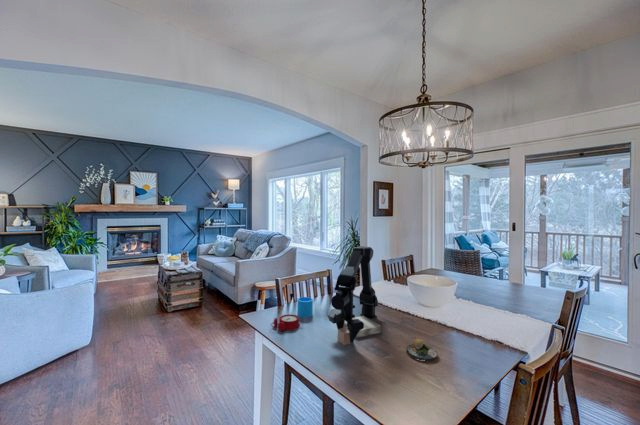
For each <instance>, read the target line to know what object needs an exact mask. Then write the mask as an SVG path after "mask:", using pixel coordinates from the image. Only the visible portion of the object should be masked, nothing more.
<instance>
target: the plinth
mask: <svg viewBox="0 0 640 425" xmlns="http://www.w3.org/2000/svg"><path fill="white" fill-rule="evenodd" d="M352 319H353V320H354V319H359V320H360V321H362V322H363V323H364V329H362V330H360V331H359V332H358V334H357V336H356V338H355V339H357V338H362V337H366V336H367V337H368V336H371V335H375V334H379V333H382V325H380V324H378V323H376V321H373V320H371V318H369V319H368V318H366V317H365V316H361V315H360V316H355V318H352ZM346 327H347V322H346V321H345V322H344V326H343V328H346Z"/></svg>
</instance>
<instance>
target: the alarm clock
mask: <svg viewBox="0 0 640 425" xmlns="http://www.w3.org/2000/svg"><path fill="white" fill-rule="evenodd" d="M301 321H302V319H299V316H298V315H296V314H284V315H281V316H280V317H279V322H278V317H274V320H273V322H272V323H271V324H270V327H272V328H276V329H277V328H278V330H279V331H281V332H285V331H294V330H296V329H299V328H300V326H301V325H300V322H301Z"/></svg>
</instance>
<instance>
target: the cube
mask: <svg viewBox="0 0 640 425" xmlns="http://www.w3.org/2000/svg"><path fill="white" fill-rule="evenodd" d="M347 328H348V327H346V328H341V329H337V341H338V342H339V343H340V344H341V345H343V346H347V345H349V344H350V345H351V344H353V343H354V342H355V340H354V341H353V343H350V335H349V330H348V329H347Z"/></svg>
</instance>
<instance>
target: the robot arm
mask: <svg viewBox="0 0 640 425" xmlns="http://www.w3.org/2000/svg"><path fill="white" fill-rule="evenodd" d="M373 256H374V249H373V248H372V247H371V246H355V247H353V249H352V253H351V257H350V258H349V261H348V263H347V264H346V267H344V269H342V270H341V271H340V273H339V275H338V276H337V279H336V283H335V287H334V291H336V292H335V295H333V296H332V298H331V300H330V304H331V306H332V307H333V308H332V309H331V310H330V311H329V312H326V313H327V314H326V315H327V319H328V321H329V322H330V323H332V324H333V325H334V324H335V325H336V327H337V330H338V329H341V328H343V326H344V322H345V321H346V322H347V327H348V328H347V329H348V330H349V335H350V343H351V344H353V341H354V342H355V339H357V338H356V336H357V334H358V332H359V331H360V330H362V329H364V323H363V322H362V321H360V320H359V319H354V320H353V319H352V318H355V317H356V315H355V314H354V309H356V305H354V291H355V289H356V287H357V283H358V278H357V271H358V269H359V266H360V274H361V284H362V289H361V291H360V293H359V305H361V306H362V307H361V313H360V314H359V315H360V316H365V317H366V318H368V319H373V318H377V317H378V316H377V315H376V307H378V306H379V300H378V296H377V295H376V290H375V289H374V288H373V287H372V275H371V274H372V272H371V261H372V259H373V258H374V257H373Z"/></svg>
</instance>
